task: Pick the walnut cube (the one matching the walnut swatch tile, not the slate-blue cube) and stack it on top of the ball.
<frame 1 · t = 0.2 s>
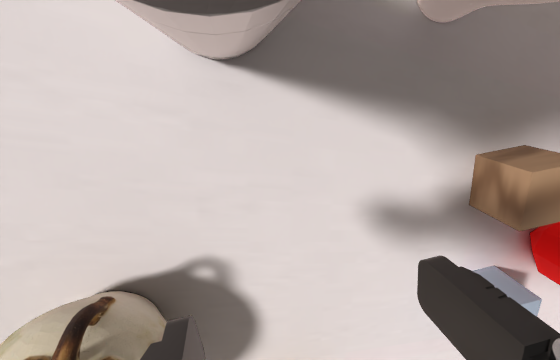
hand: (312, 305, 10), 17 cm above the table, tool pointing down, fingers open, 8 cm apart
slate cube: (470, 288, 37), on the table
sugar bowl: (119, 321, 29), on the table
walnut cube: (495, 175, 31), on the table
ball: (544, 233, 36), on the table
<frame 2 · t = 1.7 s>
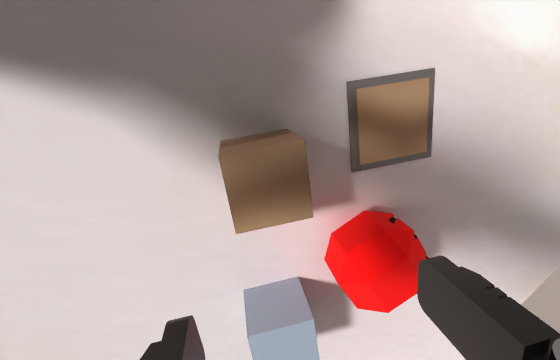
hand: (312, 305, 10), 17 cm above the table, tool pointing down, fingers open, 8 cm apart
slate cube: (275, 304, 31), on the table
walnut cube: (260, 166, 26), on the table
ball: (356, 238, 30), on the table
walnut swatch: (391, 121, 26), on the table
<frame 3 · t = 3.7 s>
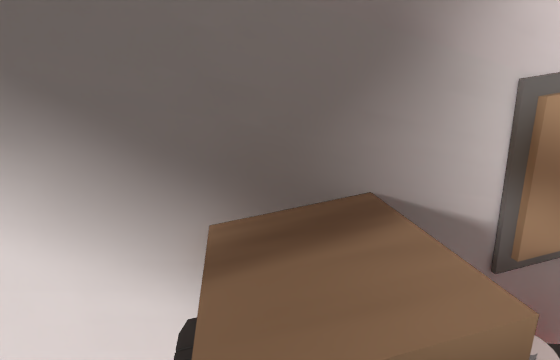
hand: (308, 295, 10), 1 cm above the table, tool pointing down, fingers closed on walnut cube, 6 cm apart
walnut cube: (302, 276, 11), on the table, touching gripper
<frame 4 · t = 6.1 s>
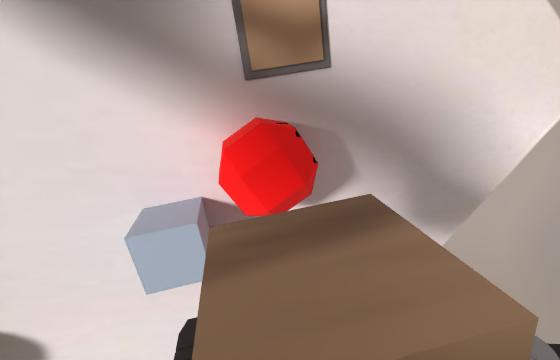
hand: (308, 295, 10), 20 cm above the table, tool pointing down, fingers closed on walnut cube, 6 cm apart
slate cube: (180, 227, 30), on the table
walnut cube: (302, 277, 11), point 19 cm above the table, touching gripper
ball: (261, 156, 29), on the table
walnut swatch: (282, 24, 26), on the table
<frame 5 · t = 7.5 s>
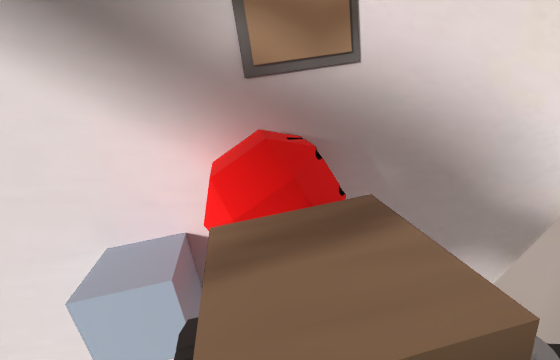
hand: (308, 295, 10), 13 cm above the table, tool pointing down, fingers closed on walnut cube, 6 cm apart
slate cube: (158, 271, 23), on the table
walnut cube: (302, 278, 11), point 12 cm above the table, touching gripper
ball: (265, 180, 22), on the table
walnut swatch: (296, 2, 18), on the table
when the fingers open (10 cm above the table, at t = 8.6 s): walnut cube drops 2 cm, resting on ball.
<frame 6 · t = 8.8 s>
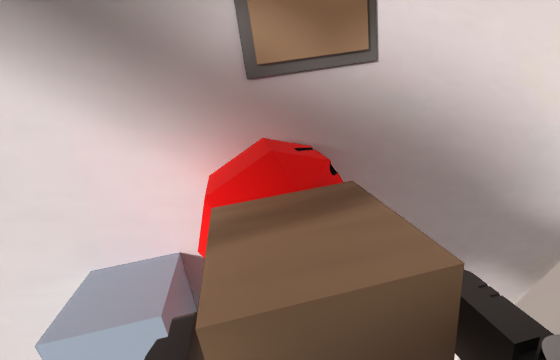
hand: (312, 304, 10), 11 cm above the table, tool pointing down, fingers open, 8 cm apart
slate cube: (148, 295, 20), on the table
walnut cube: (292, 255, 13), point 8 cm above the table, touching ball
ball: (268, 193, 20), on the table, touching walnut cube
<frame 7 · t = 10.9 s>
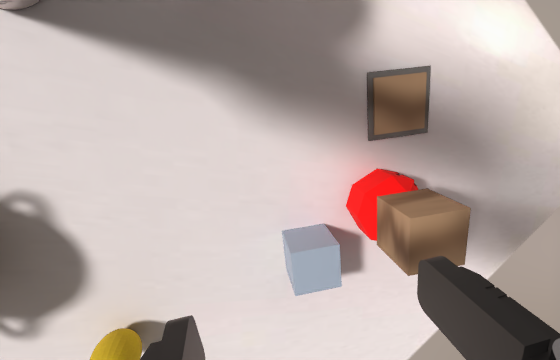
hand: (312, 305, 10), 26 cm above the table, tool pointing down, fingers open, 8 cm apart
slate cube: (304, 246, 39), on the table
lemon: (128, 330, 39), on the table
walnut cube: (401, 217, 32), point 8 cm above the table, touching ball
ball: (369, 195, 39), on the table, touching walnut cube
walnut swatch: (398, 103, 36), on the table
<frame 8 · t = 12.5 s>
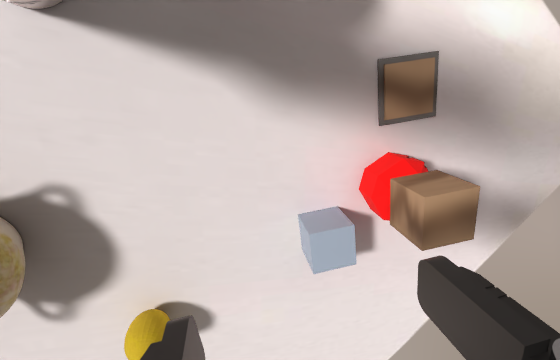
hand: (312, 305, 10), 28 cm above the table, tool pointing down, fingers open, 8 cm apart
slate cube: (319, 228, 42), on the table
lemon: (156, 311, 41), on the table
walnut cube: (413, 197, 34), point 8 cm above the table, touching ball
ball: (380, 178, 41), on the table, touching walnut cube
walnut swatch: (407, 89, 37), on the table
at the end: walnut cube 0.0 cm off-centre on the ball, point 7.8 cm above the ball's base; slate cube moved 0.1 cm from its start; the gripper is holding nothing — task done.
